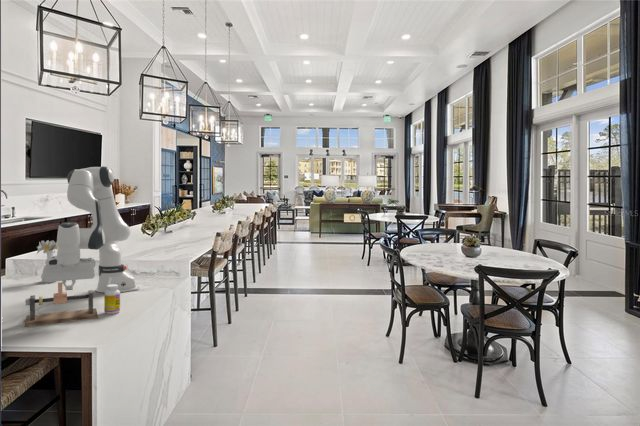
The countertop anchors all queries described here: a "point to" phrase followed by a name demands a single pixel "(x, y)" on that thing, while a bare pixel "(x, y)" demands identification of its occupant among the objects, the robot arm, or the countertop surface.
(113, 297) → the supplement bottle
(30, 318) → the towel rod holder
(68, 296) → the dark gray rod
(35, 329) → the countertop surface
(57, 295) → the peach stepped block
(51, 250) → the flower vase
